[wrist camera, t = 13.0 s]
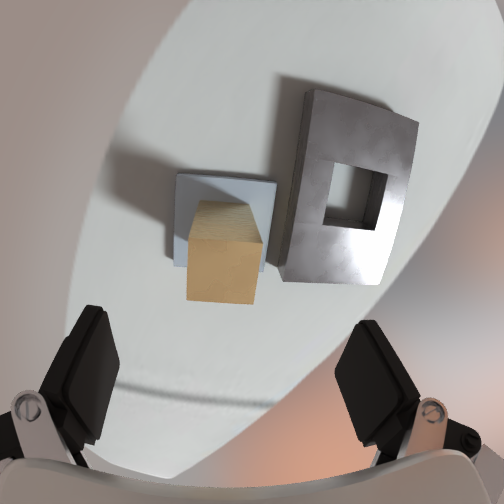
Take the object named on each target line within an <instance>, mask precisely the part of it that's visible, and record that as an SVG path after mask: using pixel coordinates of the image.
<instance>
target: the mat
mask: <svg viewBox="0 0 504 504" xmlns="http://www.w3.org/2000/svg"><path fill="white" fill-rule="evenodd" d="M276 187H277V183H276V182H275V181H266V180H257V179H247V178H237V177H226V176H213V175H199V174H182V173H178V174H177V175H176V187H175V210H174V266H177V267H187V260H188V237H189V234H190V230H191V227H192V223H193V220H194V217H195V213H196V210H197V207H198V204H199V200H208V201H220V202H231V203H241V204H249V205H250V208H251V210H252V213H253V216H254V219H255V222H256V225H257V227H258V230H259V233H260V236H261V239H262V242H263V248H262V254H261V260H260V266H259V272H263V271H264V265H265V259H266V252H267V246H268V240H269V233H270V227H271V220H272V214H273V207H274V201H275V194H276Z"/></svg>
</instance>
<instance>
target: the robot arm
mask: <svg viewBox="0 0 504 504" xmlns="http://www.w3.org/2000/svg"><path fill="white" fill-rule="evenodd" d="M119 366H120V362H119V357H118V354H117V350H116V347H115V343H114V339H113V335H112V331H111V327H110V323H109V319H108V314H107V312H106V311H103V308H102V307H100V306H93V305H86V307H85V308H84V310H83V312H82V313H81V315H80V317H79V318H78V320H77V322H76V324H75V326H74V327H73V329H72V331H71V333H70V335H69V336H67V337H66V338H65V339H64V341H63V343H62V344H61V347H60V348H59V350H58V352H57V354H56V356H55V358H54V360H53V362H52V364H51V366H50V368H49V370H48V372H47V374H46V376H45V378H44V381H43V383H42V385H41V387H40V389H39V392H36V391H33V390H25V391H22V392H20V393H19V394H17V395H16V397H14V399H13V401H12V404H11V411H10V412H7V413H5V414H2V415H0V504H496V503H497V501H498V499H499V497H500V494H501V492H502V490H503V488H504V459H502V458H501V457H500V456H499V455H497V454H496V453H495V452H494V451H492V450H491V449H490V448H489V447H488V446H486V445H485V444H483V445H482V446H481V438H480V436H479V434H478V433H477V432H476V431H475V430H474V429H472V428H470V427H467V426H465V425H462V424H460V423H458V422H456V421H453V420H451V419H449V418H448V413H447V409H446V408H445V406H444V405H443V403H441V402H440V401H439V400H437V399H435V398H425V399H423V400H422V401H420V399H419V397H420V394H419V392H418V390H417V388H416V387H415V385H414V383H413V381H412V380H411V378H410V376H409V374H408V373H407V371H406V369H405V367H404V366H403V364H402V362H401V361H400V359H399V357H398V356H397V354H396V352H395V351H394V349H393V348H392V346H391V344H390V343H389V341H388V339H387V338H386V336H385V335H384V333H383V332H382V330H381V328H380V327H379V325H378V324H377V322H376V321H375V320H361V321H360V322H359V323H358V324H356V325H355V327H354V329H353V331H352V334H351V336H350V338H349V340H348V342H347V345H346V347H345V349H344V351H343V353H342V355H341V358H340V360H339V362H338V364H337V366H336V368H335V378H336V380H337V383H338V385H339V388H340V391H341V393H342V396H343V399H344V401H345V404H346V407H347V410H348V412H349V415H350V418H351V421H352V423H353V426H354V428H355V432H356V435H357V438H358V440H359V441H360V442H362V443H363V446H364V447H368V446H371V445H375V444H376V445H377V448H378V450H377V452H376V455H375V457H374V459H373V461H372V464H371V466H370V468H367V469H364V470H360V471H356V472H352V473H348V474H344V475H339V476H335V477H330V478H325V479H320V480H314V481H308V482H301V483H295V484H287V485H276V486H265V487H247V488H246V487H245V488H213V487H193V486H180V485H171V484H163V483H155V482H149V481H143V480H137V479H132V478H127V477H122V476H117V475H113V474H108V473H104V472H100V471H96V470H93V469H92V467H91V465H90V464H89V462H88V460H87V458H86V457H85V455H84V453H83V451H82V450H83V448H84V444H85V443H87V444H90V445H95V441H96V440H99V439H100V436H101V432H102V428H103V424H104V420H105V416H106V412H107V409H108V405H109V401H110V398H111V394H112V391H113V387H114V384H115V380H116V377H117V374H118V371H119Z"/></svg>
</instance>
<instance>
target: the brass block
mask: <svg viewBox="0 0 504 504" xmlns="http://www.w3.org/2000/svg"><path fill="white" fill-rule="evenodd" d="M262 248H263V242H262V239H261V236H260V233H259V230H258V227H257V225H256V222H255V219H254V216H253V213H252V210H251V208H250V205H249V204H241V203H231V202H220V201H208V200H199V204H198V207H197V210H196V213H195V217H194V220H193V223H192V227H191V230H190V234H189V237H188V260H187V300H191V301H204V302H218V303H234V304H253V302H254V296H255V290H256V284H257V278H258V272H259V266H260V260H261V254H262Z"/></svg>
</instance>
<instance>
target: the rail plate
mask: <svg viewBox="0 0 504 504" xmlns="http://www.w3.org/2000/svg"><path fill="white" fill-rule="evenodd" d="M418 126H419V122H417V121H414V120H412V119H410V118H407V117H405V116H402V115H400V114H397V113H394V112H392V111H389V110H386V109H383V108H380V107H378V106H375V105H372V104H369V103H365V102H362V101H359V100H356V99H352V98H349V97H346V96H342V95H338V94H335V93H331V92H327V91H323V90H319V89H313V90H310V91H308V92H306V93H305V100H304V107H303V115H302V122H301V129H300V136H299V142H298V149H297V156H296V162H295V169H294V175H293V181H292V187H291V194H290V200H289V206H288V212H287V217H286V223H285V229H284V235H283V240H282V246H281V252H280V257H279V263H278V270H279V273H280V276H281V278H282V281H283V282H305V283H333V284H370V285H379V283H380V280H381V277H382V274H383V272H384V269H385V266H386V263H387V260H388V257H389V253H390V250H391V247H392V244H393V240H394V237H395V234H396V230H397V227H398V223H399V219H400V216H401V212H402V208H403V204H404V200H405V196H406V191H407V187H408V182H409V178H410V173H411V168H412V163H413V157H414V152H415V146H416V140H417V133H418ZM334 162H336V163H341V164H346V165H351V166H356V167H360V168H365V169H369V170H373V171H374V173H373V178H372V183H371V188H370V193H369V197H368V202H367V206H366V210H365V214H364V219H363V222H360V221H353V220H345V219H337V218H329V217H324V215H325V210H326V205H327V200H328V195H329V190H330V184H331V179H332V174H333V168H334Z"/></svg>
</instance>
